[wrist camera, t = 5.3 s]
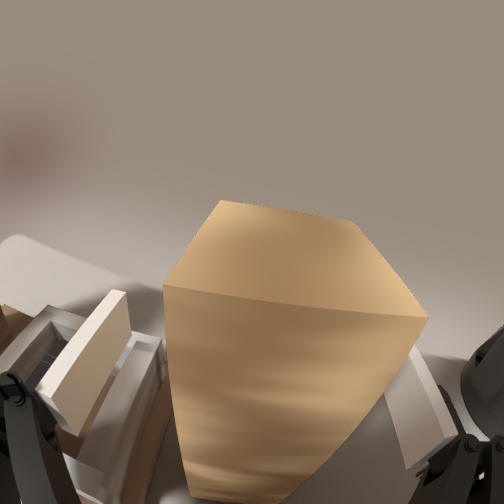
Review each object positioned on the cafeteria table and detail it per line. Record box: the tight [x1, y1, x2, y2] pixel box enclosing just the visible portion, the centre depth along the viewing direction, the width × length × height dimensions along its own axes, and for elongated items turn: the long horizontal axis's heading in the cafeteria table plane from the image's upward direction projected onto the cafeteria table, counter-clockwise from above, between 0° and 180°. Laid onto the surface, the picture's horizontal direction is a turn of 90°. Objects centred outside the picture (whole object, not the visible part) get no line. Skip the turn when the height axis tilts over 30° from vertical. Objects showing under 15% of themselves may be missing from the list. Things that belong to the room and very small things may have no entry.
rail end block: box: [163, 201, 429, 504], centre depth 10 cm, size 5×6×15 cm
